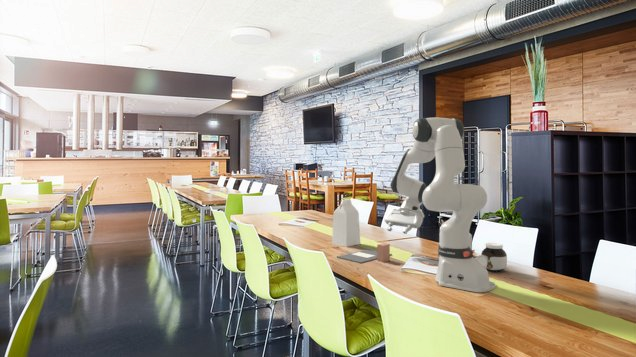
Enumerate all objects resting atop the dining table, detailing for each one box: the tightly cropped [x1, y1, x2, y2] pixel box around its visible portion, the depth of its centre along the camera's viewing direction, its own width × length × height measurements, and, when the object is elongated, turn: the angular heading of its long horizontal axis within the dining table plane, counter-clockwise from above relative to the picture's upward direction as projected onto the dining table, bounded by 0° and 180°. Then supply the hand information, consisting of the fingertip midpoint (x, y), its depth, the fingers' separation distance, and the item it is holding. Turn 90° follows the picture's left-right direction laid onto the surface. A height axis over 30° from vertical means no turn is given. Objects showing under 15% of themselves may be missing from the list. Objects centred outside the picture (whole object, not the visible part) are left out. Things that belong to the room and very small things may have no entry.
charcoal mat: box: [336, 249, 393, 264], centre depth 202 cm, size 16×24×1 cm, turn 133°
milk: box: [331, 198, 361, 247], centre depth 233 cm, size 12×12×26 cm
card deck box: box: [376, 242, 391, 263], centre depth 193 cm, size 4×5×8 cm
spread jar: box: [474, 242, 508, 273], centre depth 175 cm, size 12×11×12 cm
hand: (396, 231), depth 200 cm, fingers open, 8 cm apart
